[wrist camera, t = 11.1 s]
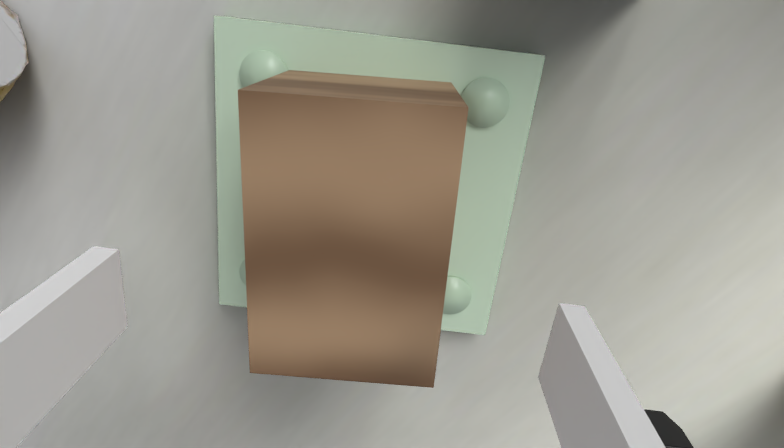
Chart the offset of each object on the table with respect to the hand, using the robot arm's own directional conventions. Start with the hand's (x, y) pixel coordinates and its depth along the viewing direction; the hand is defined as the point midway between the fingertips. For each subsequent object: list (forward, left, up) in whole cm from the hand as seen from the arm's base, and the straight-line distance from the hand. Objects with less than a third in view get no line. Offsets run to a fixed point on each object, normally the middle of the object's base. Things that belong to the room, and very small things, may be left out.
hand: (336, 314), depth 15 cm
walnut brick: (0, 0, -13) cm, 13 cm away
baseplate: (0, 0, -14) cm, 14 cm away
